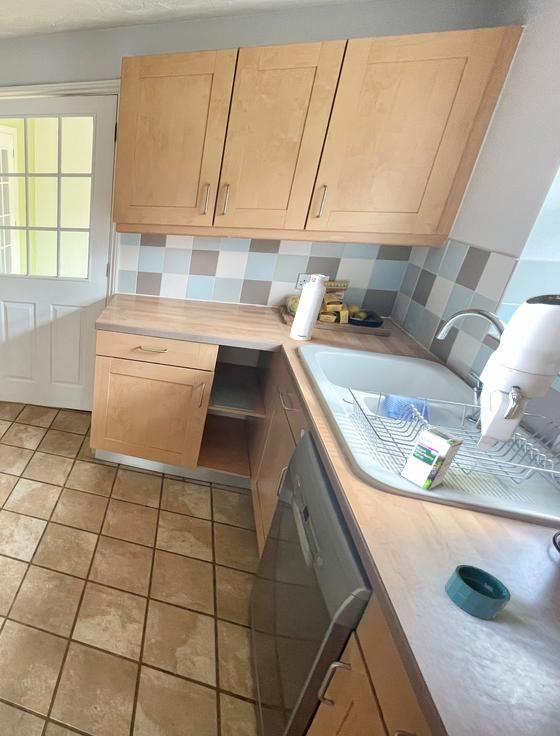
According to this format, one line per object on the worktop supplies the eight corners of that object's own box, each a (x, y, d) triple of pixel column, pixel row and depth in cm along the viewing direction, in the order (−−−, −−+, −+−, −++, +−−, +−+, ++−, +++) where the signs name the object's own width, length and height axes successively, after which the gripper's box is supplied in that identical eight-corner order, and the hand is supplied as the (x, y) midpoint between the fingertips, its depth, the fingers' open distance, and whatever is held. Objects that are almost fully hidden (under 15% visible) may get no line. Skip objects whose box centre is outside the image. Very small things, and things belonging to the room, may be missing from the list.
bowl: (488, 595, 74) (502, 576, 72) (502, 628, 68) (517, 609, 66) (439, 577, 77) (451, 558, 75) (448, 607, 71) (461, 588, 69)
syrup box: (397, 479, 101) (420, 430, 95) (411, 473, 103) (435, 425, 97) (424, 495, 96) (451, 444, 90) (438, 488, 98) (465, 438, 92)
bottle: (285, 334, 186) (303, 273, 175) (299, 333, 189) (317, 272, 177) (300, 341, 179) (319, 278, 168) (314, 339, 182) (334, 277, 170)
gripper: (546, 405, 69) (506, 470, 75) (534, 367, 83) (500, 424, 88) (493, 392, 73) (459, 454, 79) (490, 357, 87) (461, 413, 92)
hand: (481, 438), depth 84 cm, fingers open, 8 cm apart
